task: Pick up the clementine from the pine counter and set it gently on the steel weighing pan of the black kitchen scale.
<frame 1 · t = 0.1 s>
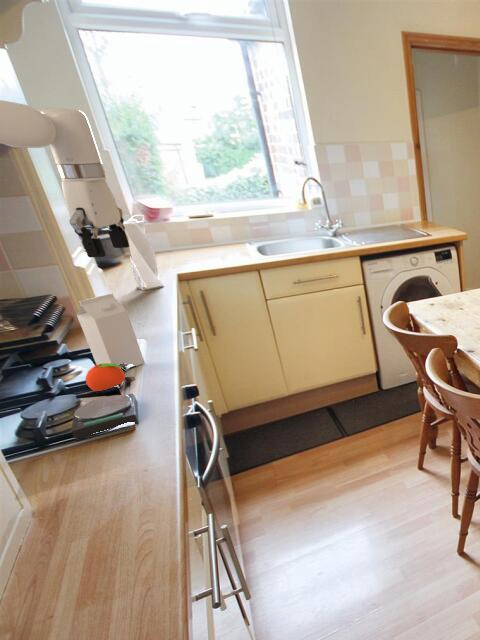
hand: (110, 252, 106), 31 cm above the countertop, tool pointing down, fingers open, 9 cm apart
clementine: (113, 391, 109), on the countertop
milk carton: (122, 367, 121), on the countertop
scale pan: (103, 407, 97), point 3 cm above the countertop, slide at 0.0 cm
scale: (108, 420, 98), on the countertop
white tapered tower: (153, 287, 186), on the countertop
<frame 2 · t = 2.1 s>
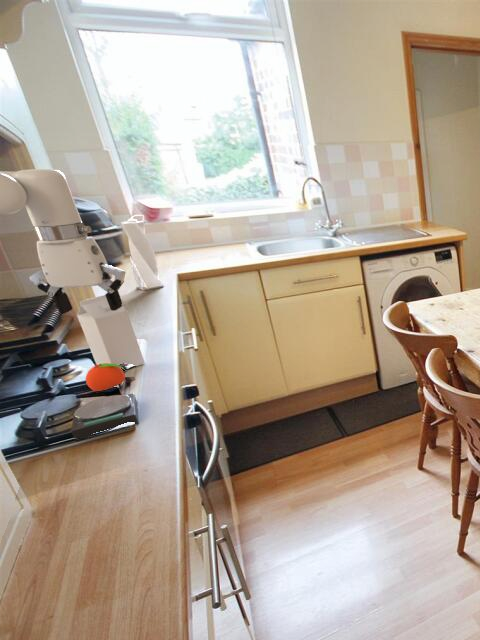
hand: (92, 310, 103), 20 cm above the countertop, tool pointing down, fingers open, 9 cm apart
nothing on the countertop moved.
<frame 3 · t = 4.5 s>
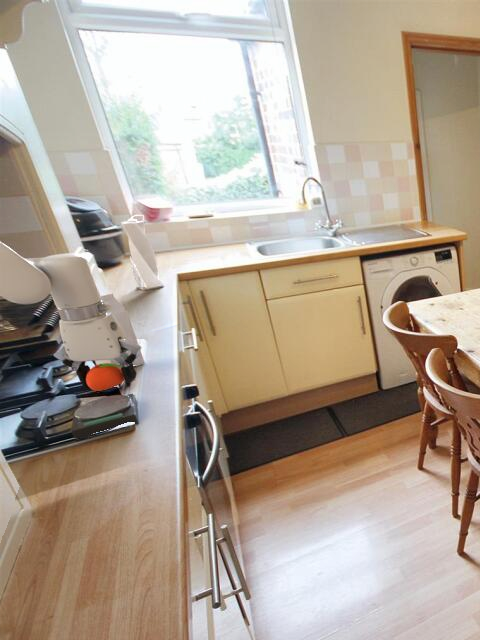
hand: (110, 381, 108), 2 cm above the countertop, tool pointing down, fingers closed on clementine, 8 cm apart
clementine: (114, 391, 109), on the countertop, touching gripper
everything else where it was.
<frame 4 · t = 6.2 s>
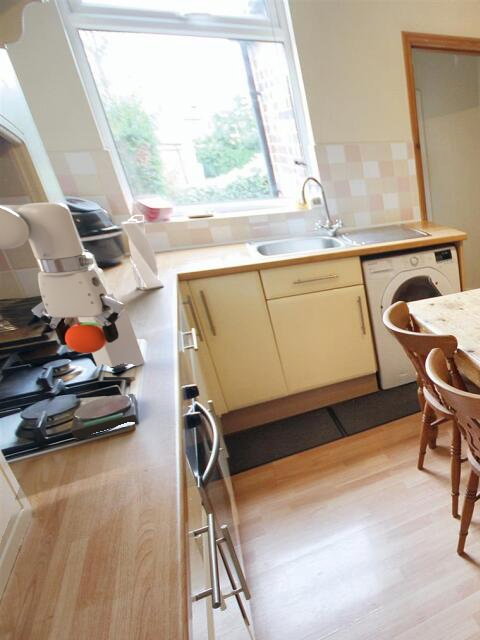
hand: (90, 341, 104), 13 cm above the countertop, tool pointing down, fingers closed on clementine, 8 cm apart
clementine: (94, 352, 105), point 10 cm above the countertop, touching gripper
everything else where it was.
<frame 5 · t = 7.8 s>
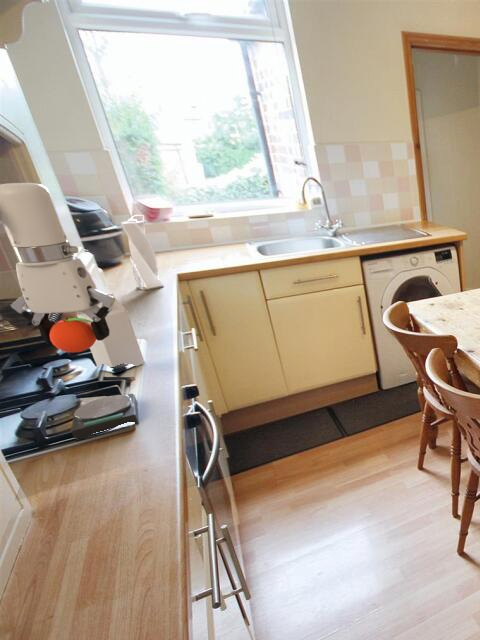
hand: (78, 339, 93), 18 cm above the countertop, tool pointing down, fingers closed on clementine, 8 cm apart
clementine: (83, 351, 94), point 15 cm above the countertop, touching gripper
everything else where it was.
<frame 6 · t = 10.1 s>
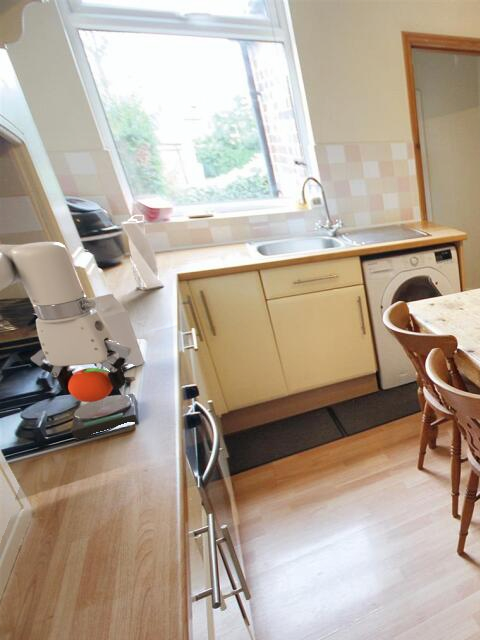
hand: (96, 388, 95), 7 cm above the countertop, tool pointing down, fingers closed on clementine, 8 cm apart
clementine: (100, 400, 96), point 5 cm above the countertop, touching gripper
everything else where it was.
when the fingers open (6 cm above the countertop, at t = 11.3 s): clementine stays where it is, resting on scale pan.
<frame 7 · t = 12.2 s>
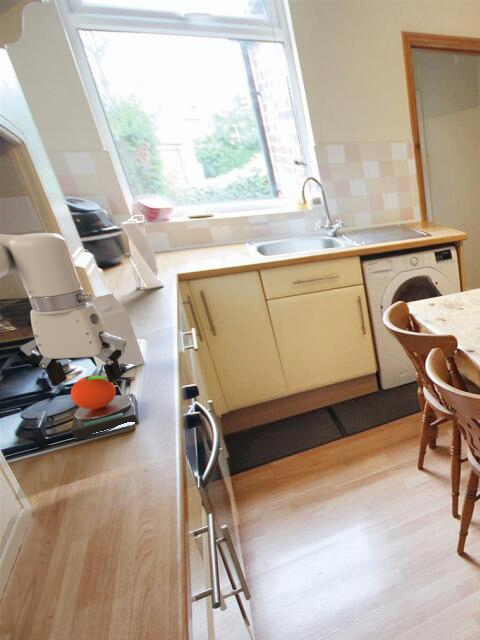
hand: (88, 381, 94), 9 cm above the countertop, tool pointing down, fingers open, 9 cm apart
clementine: (103, 407, 97), point 3 cm above the countertop, touching scale pan
scale pan: (104, 407, 97), point 3 cm above the countertop, slide at -0.1 cm, touching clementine, scale
everything else where it was.
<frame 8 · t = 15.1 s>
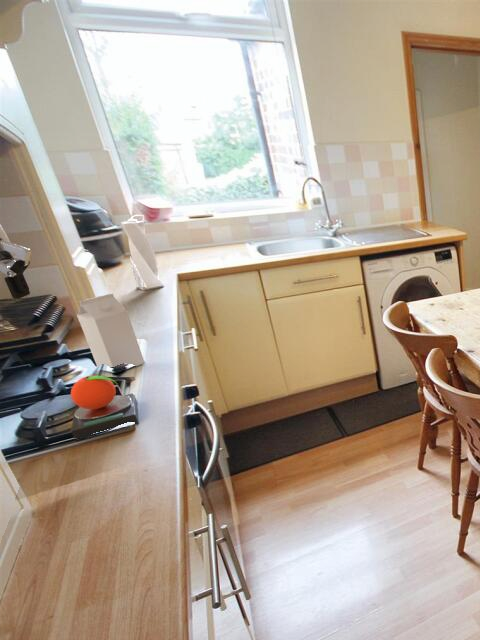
nothing on the countertop moved.
at the end: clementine inside the target area on the scale (0.6 cm from its centre), point 3.0 cm above the scale's base; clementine touching scale pan; the gripper is holding nothing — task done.
